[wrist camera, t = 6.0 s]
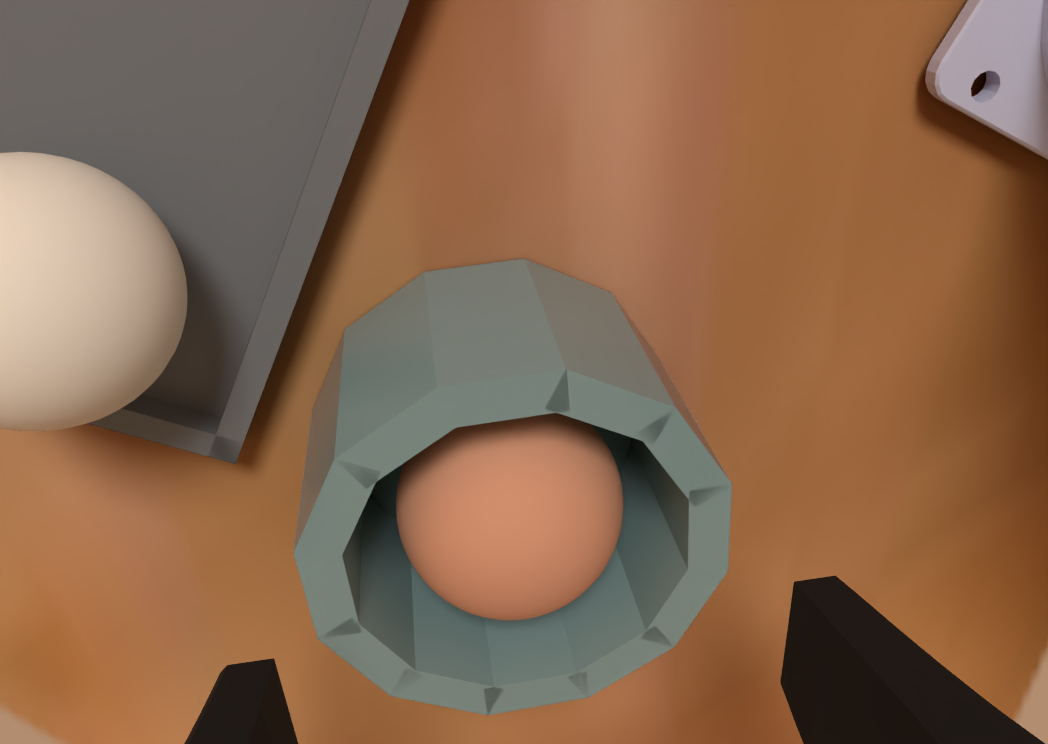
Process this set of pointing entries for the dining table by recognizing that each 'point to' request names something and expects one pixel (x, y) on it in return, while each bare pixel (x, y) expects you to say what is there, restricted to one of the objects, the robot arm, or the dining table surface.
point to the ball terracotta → (511, 514)
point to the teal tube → (489, 396)
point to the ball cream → (80, 293)
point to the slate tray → (205, 162)
